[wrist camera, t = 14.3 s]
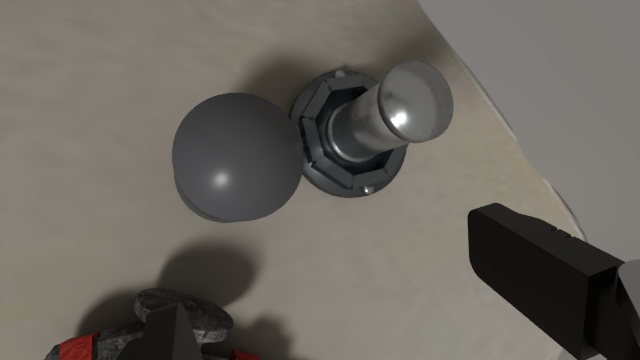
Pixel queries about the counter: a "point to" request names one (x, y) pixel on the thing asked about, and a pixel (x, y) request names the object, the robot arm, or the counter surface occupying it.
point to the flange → (318, 156)
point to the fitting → (392, 113)
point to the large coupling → (236, 158)
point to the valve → (101, 350)
